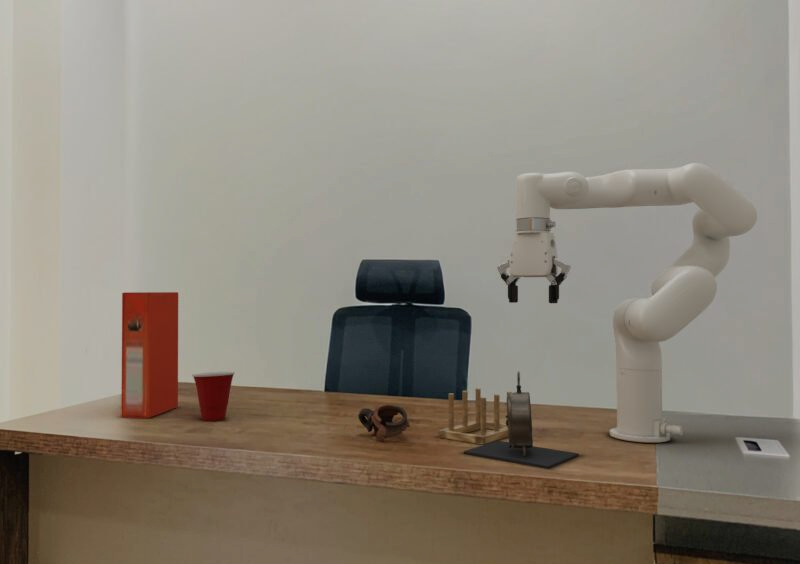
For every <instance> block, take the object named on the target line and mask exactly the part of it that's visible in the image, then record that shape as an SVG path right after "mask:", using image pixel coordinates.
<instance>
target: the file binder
mask: <svg viewBox="0 0 800 564" xmlns="http://www.w3.org/2000/svg"><path fill="white" fill-rule="evenodd" d="M120 405H121V409H120V411H121V413H120V414H121V418H126V419H127V418H128V419H130V418H131V419H150V418H152V417H155V416H158V415H160V414H163V413H165V412H166V413H167V412H168V411H171V410H173V409H176V408H178V407H179V292H178V291H177V292H176V291H175V292H174V291H169V292H168V291H167V292H166V291H161V292H159V291H157V292H156V291H155V292H153V291H151V292H149V291H147V292H143V291H142V292H141V291H140V292H139V291H138V292H137V291H135V292H131V291H130V292H121V403H120Z"/></svg>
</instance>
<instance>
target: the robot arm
mask: <svg viewBox="0 0 800 564" xmlns="http://www.w3.org/2000/svg"><path fill="white" fill-rule="evenodd" d="M691 203H694V204H695V205H696V206H697V207H698V208H697V209H696V210H695V212H694V214H693V217H692V221H691V222H692V223H691V224H692V232H693V238H692V243H691V245H690V246H689V247H688V249H687V250H685V251H684V253H682V255H680V256H679V257H677V259H675V260H674V261H673V262H672V263H670V265H668V266H667V267H666V268H664V270H662V271H661V272H660V273H659V274H658V275H657V276H656V277H655V278H654V279H653V281H652V284H651V287H650V288H651V289H650V290H651V296H650V297H644V296H643V297H629V298H626V299H625V300H622V302H620V303H619V304H618V305H617V306H616V308H615V310H614V312H613V316H612V327H613V328H612V329H613V334H614V341H615V350H616V351H615V354H616V427H613V428H611V429H609V436H611V437H612V438H615V439H616V440H617V439H618V440H622V441H627V442H634V443H648V444H649V443H650V444H651V443H652V444H653V443H654V444H655V443H667V442H669V441H670V440H671V435H673V436H674V435H675V436H683V432H684V429H683V426H681V425H679V424H678V425H677V424H669V422H667V418H666V417H663V357H662V348H661V344H660V343H663V342H666V341H668V340H671V338H674V337H675V336H676V335H677V334H679V333H680V332H681V331H683V330H684V329H685V328H686V327H687V326H688V325H689V324H690V323H692V322H693V321H694V320H695V319H696V318H697V317H699V316H700V315H701V314H702V313H703V312H704V311H705V310H707V309H708V307H709V306H711V304H712V303H713V301H714V300H715V297H716V295H717V289H718V285H717V280H716V278H717V277H718V275H719V274H720V273H722V272H723V270H724V269H725V268H726V266H727V265H728V262H729V259H730V253H731V241H730V237H736V236H741V235H744V234H747V233H748V232H750V231H751V230H752V229H753V228H754V227H755V225H756V224H757V221H758V220H757V219H758V211H757V208H756V207H755V205H754V203H753V202H752V201H751V200H750V199H749V198H748V197H747V196H746V195H745V194H744V193H743V192H741V191H740V190H739V189H738V188H737V187H735V186H734V185H733V184H732V183H730V182H729V181H728V180H727V179H725V177H723V176H722V175H721V174H720V173H718V172H717V171H716V170H714V169H713V168H711V167H710V166H708V165H706V164H704V163H702V162H690V163H688V164H685V165H682V166H679V167H672V168H670V167H668V168H634V169H633V168H629V169H621V170H617V171H613V172H609V173H606V174H602V175H596V176H587V177H585V176H584V175H583V174H582V173H579V172H577V171H561V172H552V173H543V172H525V173H521V174H519V175H518V176H517V177H516V179H515V233H513V235H512V239H511V244H510V253H509V260H507V261H505V262H503V263H501V264H500V265H498V266H497V268H496V269H497V271H498V273H499V275H500V278H501V279H502V281H503V282H504V283H505V285H506V286H507V299H508V303H509V304H514V303H515V304H516V303H518V302H519V286H518V285H517V283H518V282H519V280H520V279H521V278H546V279H547V280H548V282H549V283H550V285H548V303H549V304H558V303H559V302H558V301H559V299H560V286H561V285H562V283H563V282H564V281H565V280H566V279H567V277H568V274H569V273H570V270H571V268H572V266H571V265H570V264H568V263H566V262H564V261H563V260H560V259H559V258H558V249H557V242H556V237H555V234H554V232H551V231H552V228H556V224H557V223H556V221H552V220H551V209H553V210H554V209H555V210H586V209H587V210H588V209H605V208H608V209H609V208H615V209H617V208H625V207H626V208H630V207H666V206H669V207H670V206H672V207H673V206H682V205H683V206H684V205H687V204H691ZM559 268H560V269H561V270H560V273H559ZM508 269H509V274H508V272H507V270H508ZM558 273H559V274H558Z"/></svg>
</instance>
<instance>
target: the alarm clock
mask: <svg viewBox="0 0 800 564" xmlns="http://www.w3.org/2000/svg"><path fill="white" fill-rule="evenodd" d="M516 376H517V379H516V380H517V381H516V383H517V384H516V387H515V388H516V392H515V391H514V392H512V393H509V394H508V396H507V395H506V403H504V405H505V406H506V415H505V424H506V425H507V426H508V435H509V437H508V442H509V443H510V445H509V448H508V450H509V449H510V448H511V446H512V447H514V448H522V450H523V457H526V448H532V447H533V446H534V438H533V422H532V405H531V394H530V392H529V391H524V392H523V391H522V389H521V388H522V385H521V372H520V371H517V375H516ZM507 418H508V420H507ZM508 450H507V451H508Z"/></svg>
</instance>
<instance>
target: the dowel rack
mask: <svg viewBox="0 0 800 564" xmlns="http://www.w3.org/2000/svg"><path fill="white" fill-rule="evenodd" d="M461 392H462V393H461V395H462V397H461V399H462V404H461V405H462V406H461V407H462V408H461V410H462V411H461V412H462V416H461V417H462V418H461V419H462V421H461V422H462V424H458V425H455V394H454V393H448V427H446V428H443V429H438V438H441V439H447V440H454V441H459V442H466V443H471V444H478V445H485V444H489V443H492V442H495V441H500V440H502V439H505V438H509V435H508V426H507V425H506V423H503V422H500V421H501V420H500V418H501V417H500V416H501V415H500V413H501V412H500V411H501V409H500V408H501V407H500V403H501V402H500V401H501V399H500V398H501V397H500V396H501V395H500V394H499V393H497V394H496V393H494V394H493V421H489V420H487V397H486V396H481V395H482V390H481V388H479V387H476V388H475V420H472V421H469V419H468V417H469V415H468V414H469V413H468V409H469V408H468V405H469V398H468V397H469V396H468V395H469V394H468V393H469V392H468V390H462V391H461ZM509 393H513V391H506V397H507V396H508V394H509ZM506 420H508V418H506ZM487 429H488V430H491V431H487ZM478 430H480V434H473V433H471V432H475V431H478Z"/></svg>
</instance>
